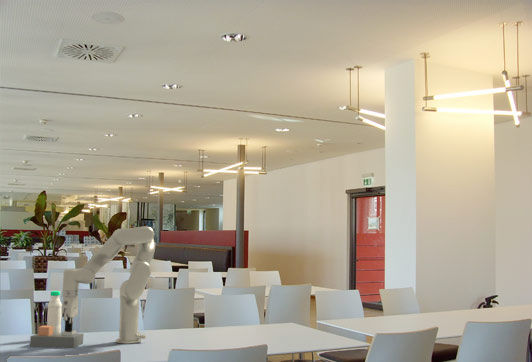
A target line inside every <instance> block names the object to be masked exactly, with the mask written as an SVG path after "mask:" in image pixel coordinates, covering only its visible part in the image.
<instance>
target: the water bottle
mask: <svg viewBox="0 0 532 362" xmlns="http://www.w3.org/2000/svg"><path fill="white" fill-rule="evenodd" d="M60 296H61V292H60V291H59V290H51V291H50V297H51V298H50V299H49V302H48V304H47V317H46V318H47V319H46V324H47V325H46V326H53V333H62V326H61V323H62V302H61V299H60Z"/></svg>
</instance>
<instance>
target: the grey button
mask: <svg viewBox="0 0 532 362" xmlns="http://www.w3.org/2000/svg"><path fill="white" fill-rule="evenodd" d="M61 333H62V336H74V335H76V333H77V330H75V329H74V330H73V329H72V331H71V332H67V331H65V330H63V331H61Z"/></svg>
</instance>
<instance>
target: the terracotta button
mask: <svg viewBox="0 0 532 362" xmlns="http://www.w3.org/2000/svg"><path fill="white" fill-rule="evenodd" d="M37 334H38V335H41V336H49V335H52V334H53V326H47V325H41V326H38V333H37Z"/></svg>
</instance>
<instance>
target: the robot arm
mask: <svg viewBox="0 0 532 362" xmlns="http://www.w3.org/2000/svg"><path fill="white" fill-rule="evenodd" d="M154 237H155V232H154V230H153V228H152V227H150V226H147V225H146V226H145V225H144V226H139V227H131V228H119V229H116V230H115V232H113V233H112V235H111V236H110V237H109V238H108V239H107V240H106V241H105V242H104V243H103V245H102V246H101V247H100V248H99V249H98V250H97V251H96V252H95V254H94V255H93V256H92V257H91V258H90V259H88V260H87V262H86V263H85V264H84V265H83V266H82V267H81V268H80V269H77V268H67V269H66V268H65V269H64V270H63V276H62V277H63V278H62V294H61V295H62V296H61V297H62V302H61V304H62V307H61V318H63V319H62V320H63V321H64V331H67V332H71V331H72V330H73V323H74V318H75V317H77V316H78V315H79V298H78V297H79V285H80V284H84V285H89V284H93V282H95V279H96V275H97V273H98V272H99V271H100V270H101V269H102V268H103V267H104V266H106V265H107V264H109V263H110V262H112V261H113V259H114V258H115V257H116V256H117V255H118V253H120V251H121V250H123V248H124V247H125V246H132V245H138V249H137V251H136V255H135V256H134V259H133V261H132V263H131V265H130V266H129V274H130V275H129V277H128V279H127V280H124V281H123V282H122V284H121V285H120V288H119V336H118V338H117V339H115V342H116V343H118V344H124V345H125V344H137V343H141V341H142V340H144V339H145V340H146V338H147V335H146V334H141V332H140V331H139V319H140V318H139V316H140V315H139V313H140V312H139V311H140V306H139V305H140V298H141V296H142V295H143V293H144V291H145V289H146V286H147V285H148V282H149V280H150V277H151V273H152V267H151V262H152V260H153V257H154V254H155V250H156V243H155V239H154Z"/></svg>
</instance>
